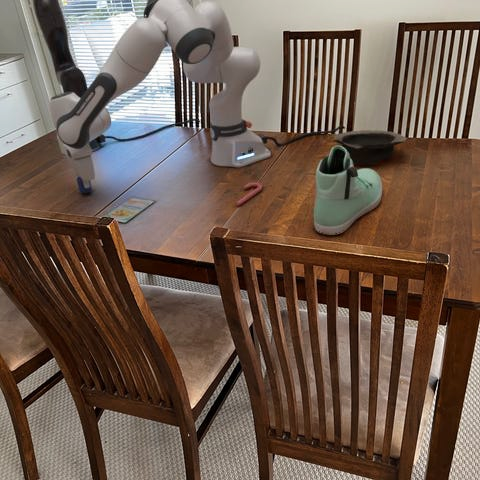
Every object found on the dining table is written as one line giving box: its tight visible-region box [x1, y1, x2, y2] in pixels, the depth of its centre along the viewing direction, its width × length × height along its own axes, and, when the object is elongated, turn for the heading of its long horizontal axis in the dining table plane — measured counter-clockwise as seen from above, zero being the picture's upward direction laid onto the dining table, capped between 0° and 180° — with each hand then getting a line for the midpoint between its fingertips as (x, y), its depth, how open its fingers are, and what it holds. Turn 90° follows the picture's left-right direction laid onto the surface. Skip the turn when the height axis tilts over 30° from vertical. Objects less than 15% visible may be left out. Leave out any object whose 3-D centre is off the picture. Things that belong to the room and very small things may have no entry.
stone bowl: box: [332, 130, 407, 166], centre depth 168 cm, size 25×25×9 cm
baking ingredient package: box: [104, 197, 155, 223], centre depth 147 cm, size 9×1×15 cm
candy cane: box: [235, 181, 263, 207], centre depth 150 cm, size 6×15×2 cm, turn 145°
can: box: [75, 176, 93, 194], centre depth 159 cm, size 4×4×5 cm
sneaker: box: [313, 145, 383, 236], centre depth 133 cm, size 14×35×20 cm, turn 152°
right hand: (84, 184), depth 159 cm, fingers closed on can, 4 cm apart
